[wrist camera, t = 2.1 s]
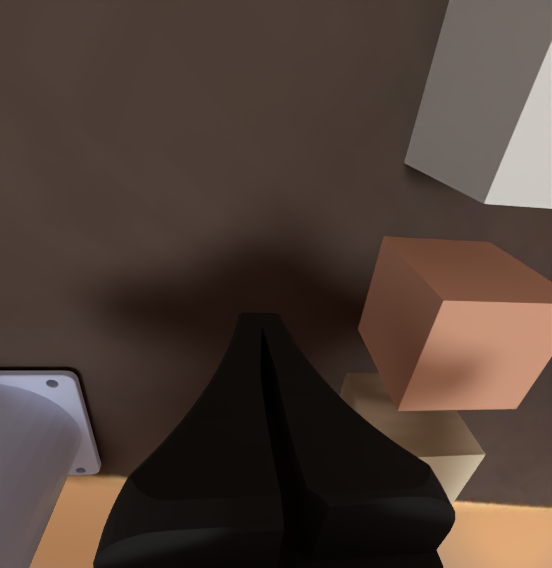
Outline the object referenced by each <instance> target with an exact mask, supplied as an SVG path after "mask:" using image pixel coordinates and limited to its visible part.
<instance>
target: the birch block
mask: <svg viewBox="0 0 552 568" xmlns="http://www.w3.org/2000/svg"><path fill="white" fill-rule="evenodd" d="M339 396H340V397H341V398H342V399H343V400H344V401H345V402H346V403H347V404H348V405H349V406H350V407H351V408H353V409H354V410H355V411H356V412H357V413H358V414H360V415H361V416H362V417H363V418H364V419H365V420H367V421H368V422H369V423H370V424H371V425H373V426H374V427H375V428H377V429H378V430H379V431H380V432H382V433H383V434H384V435H386V436H387V437H388V438H390V439H391V440H393V441H394V442H395V443H397V444H398V445H400V446H401V447H403V448H404V449H406V450H407V451H409V452H410V453H412V454H413V455H415V456H416V457H418V458H419V459H421V460H423V461H424V462H426V463H427V464H429V465H430V467H431V468H432V470H433V472H434V473H435V475H436V477H437V478H438V480H439V481H440V483H441V485H442V487H443V489H444V491H445V492H446V494H447V497H448V499H449V501H450V503H451V505H452V503H453V502H454V501H455V499H456V498H457V496H458V495H459V493H460V492H461V490H462V489H463V487H464V486H465V484H466V483H467V481H468V480H469V478H470V477H471V475H472V474H473V472H474V471H475V469H476V468H477V467H478V465H479V464H480V462H481V461H482V459H483V458H484V456H485V455H486V454H485V453H484V451H483V450H482V448H481V447H480V445H479V444H478V442H477V441H476V439H475V438H474V436H473V435H472V433H471V432H470V430H469V429H468V427H467V426H466V424H465V423H464V421H463V420H462V418H461V417H460V415H459V414H458V412H457V411H456V410H423V411H397V409H396V407H395V405H394V403H393V401H392V399H391V397H390V394H389V392H388V390H387V388H386V386H385V384H384V382H383V380H382V378H381V376H380V374H379V373H346V374H345V377H344V381H343V385H342V388H341V392H340V395H339Z"/></svg>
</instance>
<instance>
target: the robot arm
mask: <svg viewBox="0 0 552 568" xmlns="http://www.w3.org/2000/svg"><path fill="white" fill-rule="evenodd" d="M53 380H55V381H53ZM100 468H101V461H100V458H99V454H98V450H97V446H96V443H95V439H94V435H93V432H92V428H91V424H90V421H89V417H88V413H87V409H86V406H85V402H84V398H83V395H82V391H81V387H80V384H79V380H78V377H77V375H76V374H74V373H73V372H70V371H0V568H29V566H30V564H31V562H32V559H33V557H34V554H35V552H36V550H37V547H38V545H39V543H40V540H41V537H42V535H43V533H44V531H45V528H46V526H47V524H48V521H49V519H50V517H51V514H52V512H53V509H54V507H55V505H56V502H57V500H58V498H59V495H60V493H61V491H62V488H63V486H64V483H65V481H66V479H67V476H70V475H92V474H96V473H98V472H99V470H100ZM454 522H455V511H454V509H453V507H452V505H451V503H450V501H449V499H448V497H447V494H446V492H445V491H444V489H443V487H442V485H441V483H440V481H439V480H438V478H437V477H436V475H435V473H434V472H433V470H432V468H431V467H430V465H429V464H427V463H426V462H424V461H423V460H421V459H419V458H418V457H416V456H415V455H413V454H412V453H410V452H409V451H407V450H406V449H404V448H403V447H401V446H400V445H398V444H397V443H395V442H394V441H393V440H391V439H390V438H388V437H387V436H386V435H384V434H383V433H382V432H380V431H379V430H378V429H377V428H375V427H374V426H373V425H371V424H370V423H369V422H368V421H367V420H365V419H364V418H363V417H362V416H361V415H360V414H358V413H357V412H356V411H355V410H354V409H353V408H351V407H350V406H349V405H348V404H347V403H346V402H345V401H344V400H343V399H342V398H341V397H340V396H339V395H338V394H337V393H336V392H335V391H334V390H333V389H332V388H331V387H330V386H329V385H328V384H327V383H326V381H325V380H324V379H323V378H322V377H321V376H320V375H319V373H318V372H317V371H316V370H315V368H314V367H313V366H312V365H311V363H310V362H309V361H308V360H307V358H306V357H305V356H304V354H303V353H302V351H301V350H300V348H299V347H298V346H297V344H296V343H295V341H294V340H293V338H292V337H291V335H290V333H289V332H288V330H287V328H286V327H285V325H284V323H283V321H282V320H281V318H280V316H279V315H278V314H273V313H241V314H239V315H238V321H237V326H236V329H235V332H234V335H233V338H232V340H231V343H230V345H229V347H228V349H227V352H226V354H225V356H224V358H223V360H222V362H221V363H220V365H219V367H218V369H217V371H216V373H215V374H214V376H213V378H212V379H211V381H210V383H209V384H208V386H207V387H206V389H205V390H204V392H203V393H202V395H201V396H200V398H199V399H198V400H197V402H196V403H195V404H194V406H193V407H192V408H191V410H190V411H189V412H188V414H187V415H186V416H185V417H184V419H183V420H182V421H181V422H180V423H179V424H178V426H177V427H176V428H175V429H174V430H173V431H172V432H171V434H170V435H169V436H168V437H167V438H166V439H165V440H164V442H163V443H162V444H161V445H160V446H159V447H158V448H157V449H156V450H155V451H154V452H153V453H152V454H151V455H150V456H149V457H148V458H147V459H146V460H145V461H144V462H143V463H142V464H141V465H140V466H139V467H138V468H137V469H136V470H135V471H134V472H133V473H132V474H131V475H130V476H129V477H128V478H127V480H126V482H125V484H124V486H123V487H122V489H121V491H120V493H119V495H118V497H117V499H116V501H115V503H114V505H113V507H112V509H111V512H110V514H109V516H108V519H107V521H106V524H105V526H104V529H103V532H102V536H101V539H100V542H99V546H98V549H97V552H96V556H95V559H94V562H93V565H94V568H443V565H442V562H441V560H440V557H439V555H438V553H437V548H438V547H439V545H440V544H441V543H442V541H443V540H444V539H445V537H446V536H447V534H448V533H449V532H450V530H451V528H452V526H453V524H454Z"/></svg>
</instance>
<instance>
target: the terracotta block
mask: <svg viewBox="0 0 552 568" xmlns="http://www.w3.org/2000/svg"><path fill="white" fill-rule="evenodd" d="M358 330H359V332H360V334H361V337H362V339H363V341H364V343H365V345H366V347H367V349H368V351H369V353H370V355H371V357H372V359H373V361H374V363H375V366H376V368H377V370H378V372H379V374H380V376H381V378H382V380H383V382H384V384H385V386H386V388H387V390H388V392H389V394H390V397H391V399H392V401H393V403H394V405H395V407H396V409H397V411H423V410H479V409H516V408H517V407H518V405H519V404H520V402H521V401H522V400H523V398H524V397H525V395H526V394H527V392H528V391H529V389H530V388H531V386H532V385H533V383H534V382H535V380H536V379H537V377H538V376H539V374H540V373H541V371H542V370H543V369H544V367H545V366H546V364H547V363H548V361H549V360H550V358H551V357H552V282H551V281H549V280H548V279H546V278H545V277H543V276H542V275H540V274H538V273H537V272H535V271H534V270H532V269H531V268H529V267H528V266H526V265H525V264H523V263H522V262H520V261H518V260H517V259H515V258H514V257H512V256H511V255H509V254H508V253H506V252H505V251H503V250H502V249H500V248H498V247H497V246H495V245H494V244H492V243H491V242H480V241H461V240H443V239H425V238H407V237H389V236H384V237H383V241H382V244H381V248H380V252H379V255H378V259H377V262H376V266H375V270H374V273H373V277H372V280H371V284H370V288H369V291H368V295H367V298H366V302H365V306H364V309H363V313H362V316H361V320H360V324H359V327H358Z"/></svg>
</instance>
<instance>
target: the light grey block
mask: <svg viewBox="0 0 552 568" xmlns="http://www.w3.org/2000/svg"><path fill="white" fill-rule="evenodd" d="M404 163H405V164H407V165H409V166H411V167H413V168H415V169H417V170H419V171H421V172H423V173H424V174H426V175H428V176H430V177H432V178H434V179H436V180H438V181H440V182H442V183H444V184H446V185H448V186H450V187H452V188H454V189H456V190H458V191H460V192H462V193H464V194H466V195H468V196H470V197H472V198H474V199H476V200H478V201H479V202H481V203H483V204H494V205H508V206H522V207H536V208H550V209H552V0H449V3H448V7H447V11H446V14H445V18H444V21H443V25H442V29H441V32H440V36H439V39H438V43H437V47H436V50H435V54H434V57H433V61H432V65H431V68H430V72H429V75H428V79H427V83H426V86H425V90H424V93H423V97H422V101H421V104H420V108H419V111H418V115H417V118H416V122H415V126H414V129H413V133H412V136H411V140H410V144H409V147H408V151H407V154H406V158H405V162H404Z"/></svg>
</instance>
